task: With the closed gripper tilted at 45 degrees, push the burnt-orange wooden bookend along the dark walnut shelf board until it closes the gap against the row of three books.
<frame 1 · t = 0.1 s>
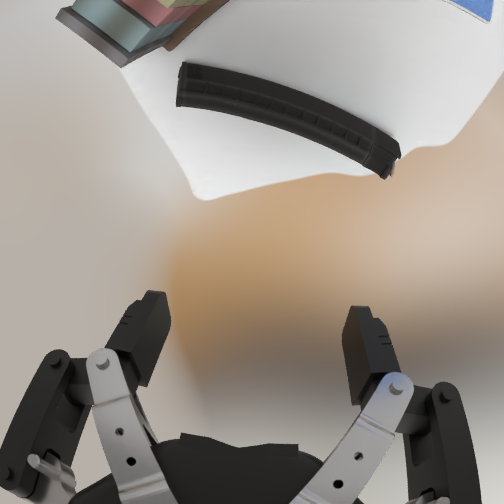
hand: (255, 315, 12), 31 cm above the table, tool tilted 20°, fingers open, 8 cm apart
magazine: (293, 99, 33), on the table
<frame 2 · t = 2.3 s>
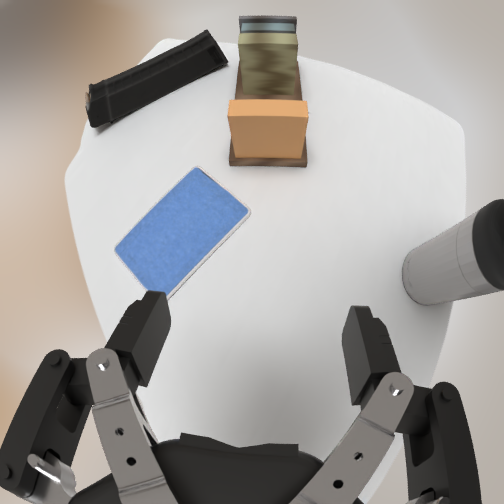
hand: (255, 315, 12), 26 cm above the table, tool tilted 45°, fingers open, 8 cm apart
blue flat slab: (180, 233, 42), on the table
magazine: (161, 94, 49), on the table
loose bookend: (268, 130, 37), point 7 cm above the table, slide at 0.0 cm
book row: (268, 107, 46), on the table
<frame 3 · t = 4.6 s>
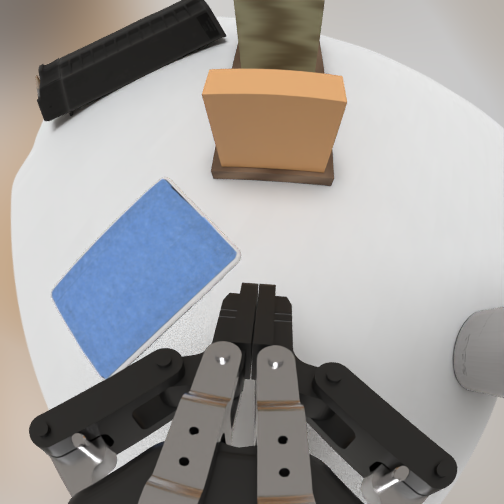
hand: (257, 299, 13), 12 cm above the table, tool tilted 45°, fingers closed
blue flat slab: (135, 279, 27), on the table
magazine: (135, 76, 35), on the table
loose bookend: (274, 124, 22), point 7 cm above the table, slide at 0.0 cm
book row: (277, 93, 31), on the table
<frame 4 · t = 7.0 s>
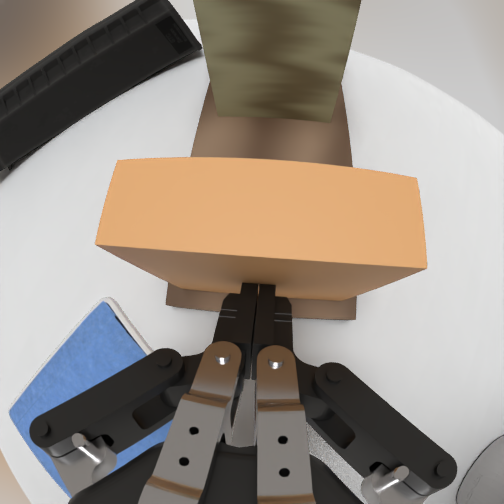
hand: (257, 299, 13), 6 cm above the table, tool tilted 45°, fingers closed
blue flat slab: (91, 421, 17), on the table
magazine: (81, 113, 25), on the table
loose bookend: (263, 250, 13), point 7 cm above the table, slide at 0.6 cm, touching gripper
book row: (272, 147, 22), on the table
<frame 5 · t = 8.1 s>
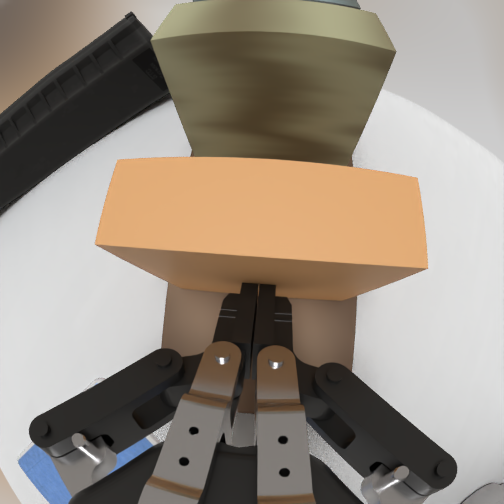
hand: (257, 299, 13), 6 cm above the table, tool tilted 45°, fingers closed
blue flat slab: (96, 478, 16), on the table
magazine: (61, 158, 23), on the table
loose bookend: (263, 250, 13), point 7 cm above the table, slide at 7.0 cm, touching gripper
book row: (267, 219, 20), on the table
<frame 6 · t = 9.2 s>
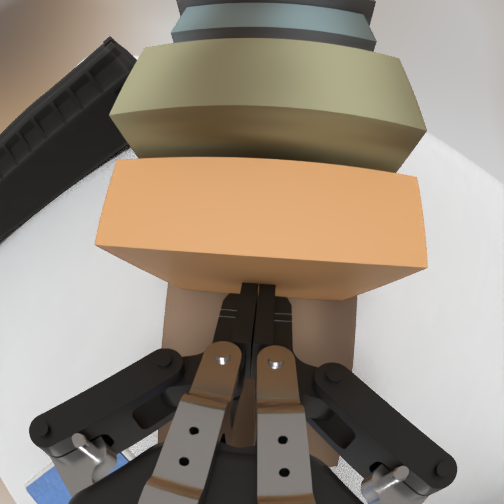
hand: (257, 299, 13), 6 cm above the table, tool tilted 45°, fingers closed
magazine: (49, 193, 22), on the table
loose bookend: (263, 250, 13), point 7 cm above the table, slide at 11.0 cm, touching gripper
book row: (263, 275, 19), on the table
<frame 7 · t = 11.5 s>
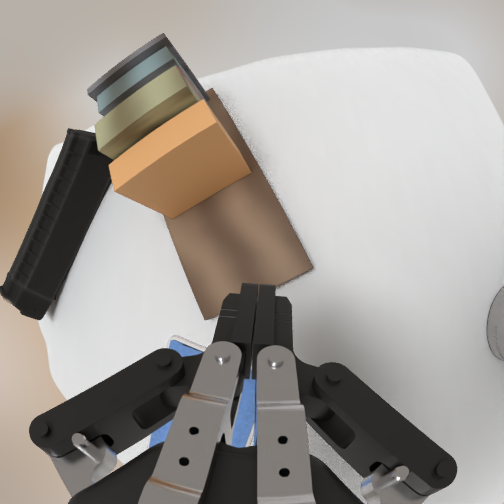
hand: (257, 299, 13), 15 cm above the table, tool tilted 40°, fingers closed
blue flat slab: (203, 420, 29), on the table
magazine: (80, 234, 37), on the table
loose bookend: (184, 167, 25), point 7 cm above the table, slide at 11.0 cm
book row: (211, 190, 32), on the table
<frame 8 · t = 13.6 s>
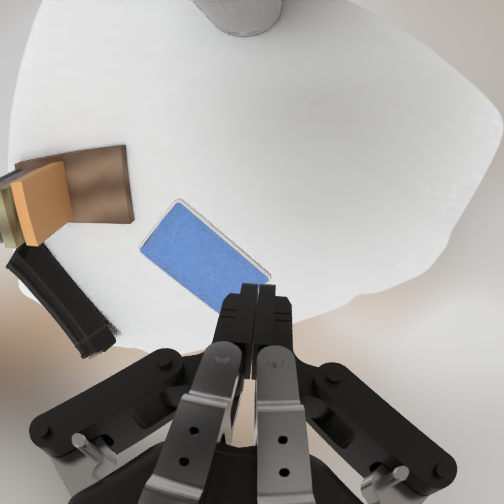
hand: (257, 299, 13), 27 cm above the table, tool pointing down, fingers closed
blue flat slab: (203, 260, 45), on the table
magazine: (72, 283, 51), on the table
loose bookend: (43, 201, 34), point 7 cm above the table, slide at 11.0 cm
book row: (67, 187, 40), on the table
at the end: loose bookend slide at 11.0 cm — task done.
